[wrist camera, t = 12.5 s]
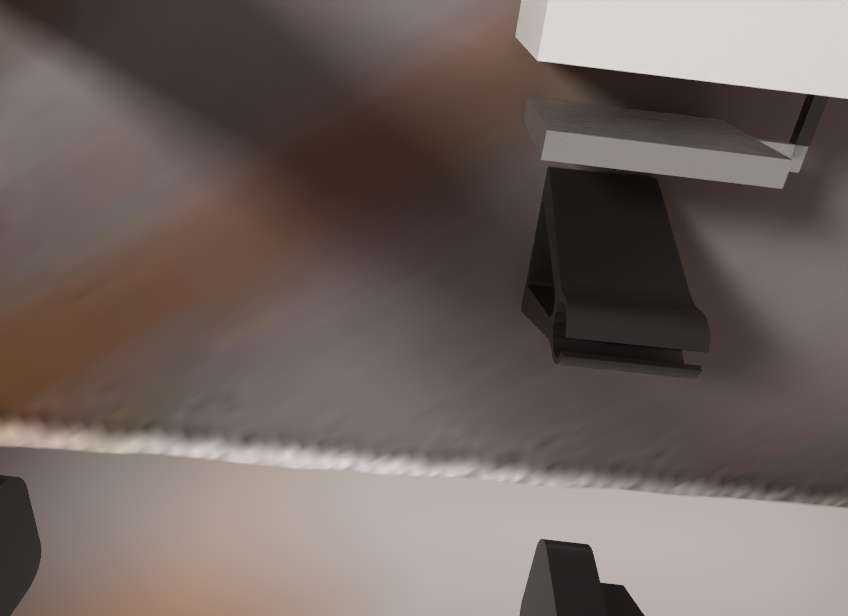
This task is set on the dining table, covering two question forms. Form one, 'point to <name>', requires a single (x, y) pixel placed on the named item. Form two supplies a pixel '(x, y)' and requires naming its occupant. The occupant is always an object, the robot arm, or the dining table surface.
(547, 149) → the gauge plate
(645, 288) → the phone stand
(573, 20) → the box
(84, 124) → the dining table surface
